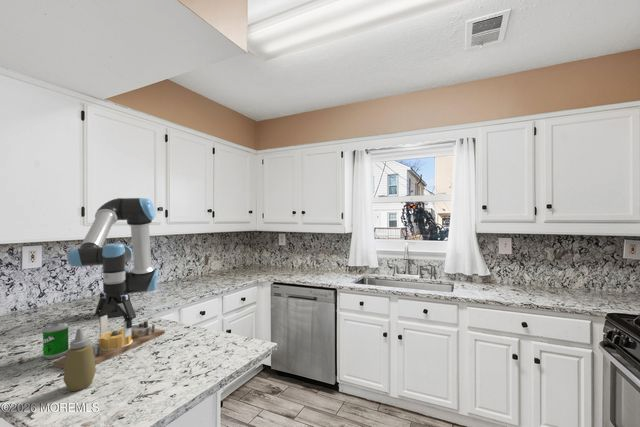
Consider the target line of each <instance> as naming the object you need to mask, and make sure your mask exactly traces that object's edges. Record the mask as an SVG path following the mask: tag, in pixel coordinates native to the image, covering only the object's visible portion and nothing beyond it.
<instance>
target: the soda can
mask: <svg viewBox="0 0 640 427" xmlns="http://www.w3.org/2000/svg"><path fill="white" fill-rule="evenodd" d="M69 349H70V343H69V324H68V323H66V322H65V321H58V322H52V323H49V324H47V325H45V327H44V328H42V350H43V351H42V357H43V358H45V359H46V360H53V359H58V358H60V357H63V356H66V352H67V351H68V350H69Z"/></svg>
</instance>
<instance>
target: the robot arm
mask: <svg viewBox="0 0 640 427" xmlns="http://www.w3.org/2000/svg"><path fill="white" fill-rule="evenodd" d="M154 219H155V206H154V203H153V202H152V199H150V198H145V197H135V198H134V197H128V198H127V197H125V198H123V197H119V198H118V197H117V198H114V199H111V200H108V201H107V202H105V203H104V204H102V205H101V206H100V207H99V208H98V209H96V212H95V214H94V220H93V221H92V225H91V226H90V228H89V230H88V232H87V234H86V235H85V237H84V239H83V241H82V242H81V245H80V246H79V247H76V248H72V249H70V250H69V251H68V254H67V262H68V265H69V266H71V267H91V266H92V267H93V266H102V279H103V281H102V289H103V290H102V291H103V292H102V293H99V300H98V302H97V303H98V304H97V306H96V309H95V311H94V314H95V316H97V317H98V319H99V334H104V333H105V332H106V333H107V332H108V330H109V328H108V327H109V326H108V324H109V323H108V318H116V317H121V316H122V317H123V318H124V320H123V321H122V322H123V329H124V337H128V336H130V335H131V327H132V326H133V321H132V320H133V319H135V318H137V314H136V312H135V309H134V307H133V304H132V301H131V296H130V294H136V293H147V292H149V293H150V292H153V291H155V290H156V289H157V285H158V280H159V270H157V269H155V266H154V265H153V264H152V253H151V240H150V239H151V237H150V225H151V224H152V223H153V220H154ZM117 221H126V225H128V226H129V227H130V232H131V233H130V234H131V246H132V249H131V247H130V246H128V245H124V244H123V243H109V244H105V242H106V239H107V237H108V236H109V233H110V231H111V229H112V226H113V224H116V223H117ZM132 258H133V267H132V268H131V271H130V272H129V269H126V263H128V262H130V261H131V259H132Z"/></svg>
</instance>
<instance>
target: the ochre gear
mask: <svg viewBox="0 0 640 427" xmlns="http://www.w3.org/2000/svg"><path fill="white" fill-rule="evenodd" d="M113 331H118V332H119V335H117V336H111V334H112V332H113ZM97 340H98V343H97V344H99V346H101V348H102V349H105V350H109V349H113V348H120V347H122V346H124V345H126V344H129V343H131V340H132V336H131V335H130V336H128V337H124V328H121V329H116V330H114V329H113V330H110V331H109V332H108V331H107V332H106V333H105V332H104V333H100V335H99V337H98V338H97Z"/></svg>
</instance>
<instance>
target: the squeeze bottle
mask: <svg viewBox="0 0 640 427" xmlns="http://www.w3.org/2000/svg"><path fill="white" fill-rule="evenodd" d="M89 340H90V338H88V337H85V335H84V332H83V328H77V329H76V333H75V337H74V340H72V341H70V342H69V350H68V351H67V352H66V354H65V357H66V361H65V369H64V371H63V382H64V384H65V386H66V388H67V390H68V391H70V392H77V391H81V390H83V389H87V388H88V387H89V386H91V385H92V384H93V381H94V377H95V375H96V371H97V370H96V365H95V362H94V355H93V347H92V345H89V344H90V342H89Z"/></svg>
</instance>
